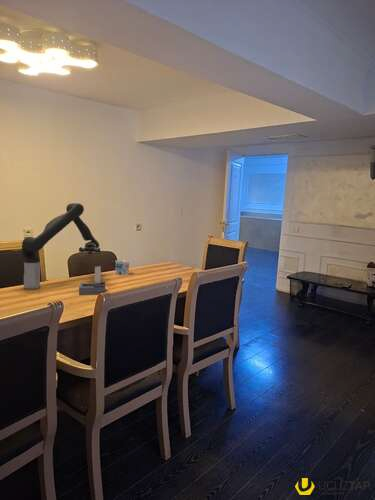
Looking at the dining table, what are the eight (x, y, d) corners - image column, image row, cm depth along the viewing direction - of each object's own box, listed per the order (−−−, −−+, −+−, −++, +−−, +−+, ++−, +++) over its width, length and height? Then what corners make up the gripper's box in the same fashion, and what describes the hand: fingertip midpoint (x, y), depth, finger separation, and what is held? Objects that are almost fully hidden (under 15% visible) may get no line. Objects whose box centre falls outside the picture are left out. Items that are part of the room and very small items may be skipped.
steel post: (92, 290, 221) (92, 267, 219) (93, 288, 227) (93, 266, 225) (102, 290, 222) (102, 267, 220) (102, 288, 228) (102, 266, 226)
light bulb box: (115, 274, 275) (115, 261, 274) (115, 273, 282) (115, 260, 280) (129, 274, 278) (129, 261, 276) (128, 272, 284) (128, 260, 283)
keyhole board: (78, 294, 216) (78, 286, 216) (80, 289, 228) (80, 281, 227) (105, 294, 220) (105, 285, 219) (105, 289, 232) (105, 281, 231)
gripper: (80, 242, 248) (78, 245, 232) (100, 243, 251) (100, 246, 235) (80, 253, 249) (78, 256, 233) (100, 253, 252) (99, 257, 236)
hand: (89, 251), depth 234 cm, fingers open, 8 cm apart
